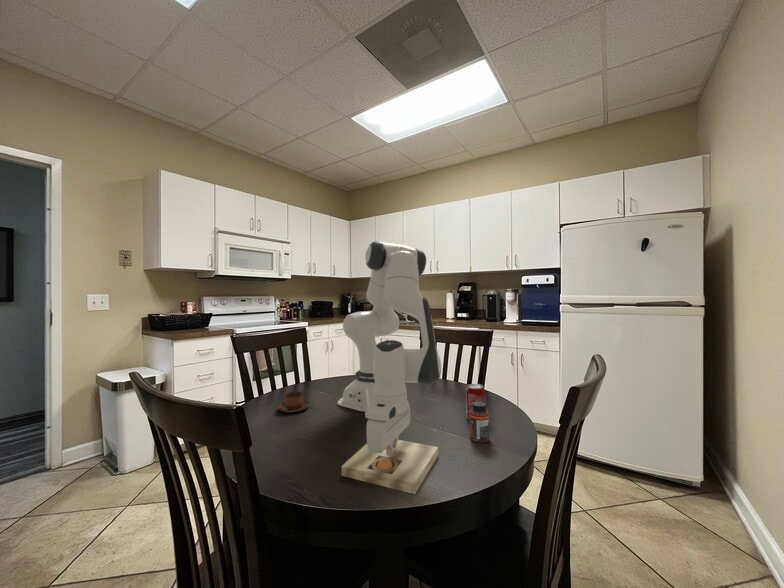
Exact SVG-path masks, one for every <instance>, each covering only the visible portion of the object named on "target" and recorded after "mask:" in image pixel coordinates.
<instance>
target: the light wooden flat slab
mask: <svg viewBox="0 0 784 588" xmlns="http://www.w3.org/2000/svg"><path fill="white" fill-rule="evenodd" d="M383 458H386V459H389V460H390V461H391V463H392V468H391V469H387V470H382V469H378V468H377V464H378V462H379V461H380V460H381V459H383ZM437 458H439V447H438V446H434V445H429V444H423V443H418V442H412V441H407V440H403V439H402V440H401V439H398V443H397V451H396V452H395V453H394V454H393V456H387V454H386V449H385V450H384V451H383V452H382V453H376V452H372V451H370V450H369V449H368V446H367V443H365V444H364V445H363V446H362V447H361V448H360V449H359V450H357V451H356V452H355V453H354V454H353V455H352V456H351V457H350V458H349V459H347V461H345V463H343V464H342V465H341V477H346V478H350V479H353V480H357V481H362V482H365V483H369V484H373V485H376V486H382V487H385V488H389V489H392V490H396V491H400V492H404V493H407V492H408V493H407V494H411V493H413V494H412V495H416V493H417V492H418V490H419V489H420V486H421V485H422V483H423V481H425V479H426V477H427V475H428V474H429V472H430V470H431V469H432V467H433V466H434V464H435V462H436V461H437Z"/></svg>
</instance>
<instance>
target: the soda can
mask: <svg viewBox="0 0 784 588" xmlns="http://www.w3.org/2000/svg"><path fill="white" fill-rule="evenodd" d="M473 402H483V403H485V404H486V390H485V389H484V385H482V384H480V383H470V384H468V385H467V387H466V389H465V403H466V404H465V406H466V407H465V408H466V409H465V410H466V411H465V412H466V415H465V416H466V418H467V419H468V420H470V410H471V409H472V408H473V407H472V406H473Z"/></svg>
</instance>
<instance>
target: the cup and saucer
mask: <svg viewBox="0 0 784 588" xmlns="http://www.w3.org/2000/svg"><path fill="white" fill-rule="evenodd" d="M283 396H284V402H282V403H280V404H279V405H278V410H279V411H280V412H283V413H298V412H301V411H304V410H305V409H307V408H308V407H309V405H310V402H309V400H304V392H301V391H290V392H287V393H285V394H284V395H283ZM302 405H305V407H304V408H301V407H302ZM282 406H285V407H286V408H287V409H288V410H282V409H281V407H282ZM299 408H301V409H299ZM297 411H298V412H297Z"/></svg>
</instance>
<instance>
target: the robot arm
mask: <svg viewBox="0 0 784 588" xmlns="http://www.w3.org/2000/svg"><path fill="white" fill-rule="evenodd" d="M364 258H365V263H366V264H365V265H366V266H367V268H368V269H370V270H372V273H371V275H370V279H369V283H368V287H367V290H366V299H367V301H368V303H370V304H371V305H372V306H373V307H372V310H368V311H366V310H365V311H356V312H352V313H350V314H347V315H345V316H346V317H345V318H344V319H343V321H342V323H343V324H342V329H343V332H344V334H345V336H347V337H348V338H349V339H350V340H351V341H352V342H353V343H354V345H355V347H356V348H357V351H358V358H359V370H357V371H355V372H354V377H355V378H356V379H354V380H353V381H352V382H350V384H348V385H347V386H346V387H345V388H344V389H343V393H342V397H341V398H339V400H338V401H337V406H341V407H343V408H349V409H352V410H355V411H359V412H365V413H364V415H365V416H364V417H365V418H366V419H367V422H366V444H367V446H368V449H369V450H370V451H372V452H376V453H382V452H383V451H384V450H385V449H386V454H387V456H393V454H394V453H395V452H396V451H397V443H398V440H399V438H400V435H401V433H402V432H404V430H406V428H407V427H408V426H409V425H410V423H411V408H410V402H409V400H408V392H407V386H406V383H410V384H411V383H412V384H420V385H427V386H431V385H433V384H435V383H436V382H437V381H438V380H439V379H440V378H441V374H442V362H441V358H440V355H439V351H438V347H437V341H436V336H435V329H434V324H433V317H432V311H431V307H430V306H431V305H430V302H429V301H428V299H427V298H426V297H424V296H423V295H422V294H421V291H420V286H419V285H420V276H422V275H423V273H424V271H425V270H426V265H427V256H426V254H425V252H424V251H423V250H420V249H418V248H413V247H411V246H407V245H403V244H396V243H390V242H383V241H379V240H378V241H377V240H376V241H372V242H371V243H370V244H369V246H368V247H367V249H366V251H365V257H364ZM394 309H395V310H396V311H397V312H400V313H402V314H406V315H409V316H411V317H413V318H415V319H416V320H417V321H418V323H419V329H420V335H421V342H422V343H421V344H422V347H421V348H404V344H403V343H402V342H401V341H399V340H394V339H392V340H383V341H381V342H379V343H377V342H376V338H378V337H383V336H384V337H385V336H389V335H391V334H394V333H396V332H398V330H399V327H400V318H399V316H398V314H397V313H396V311H395V310H394Z"/></svg>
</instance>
